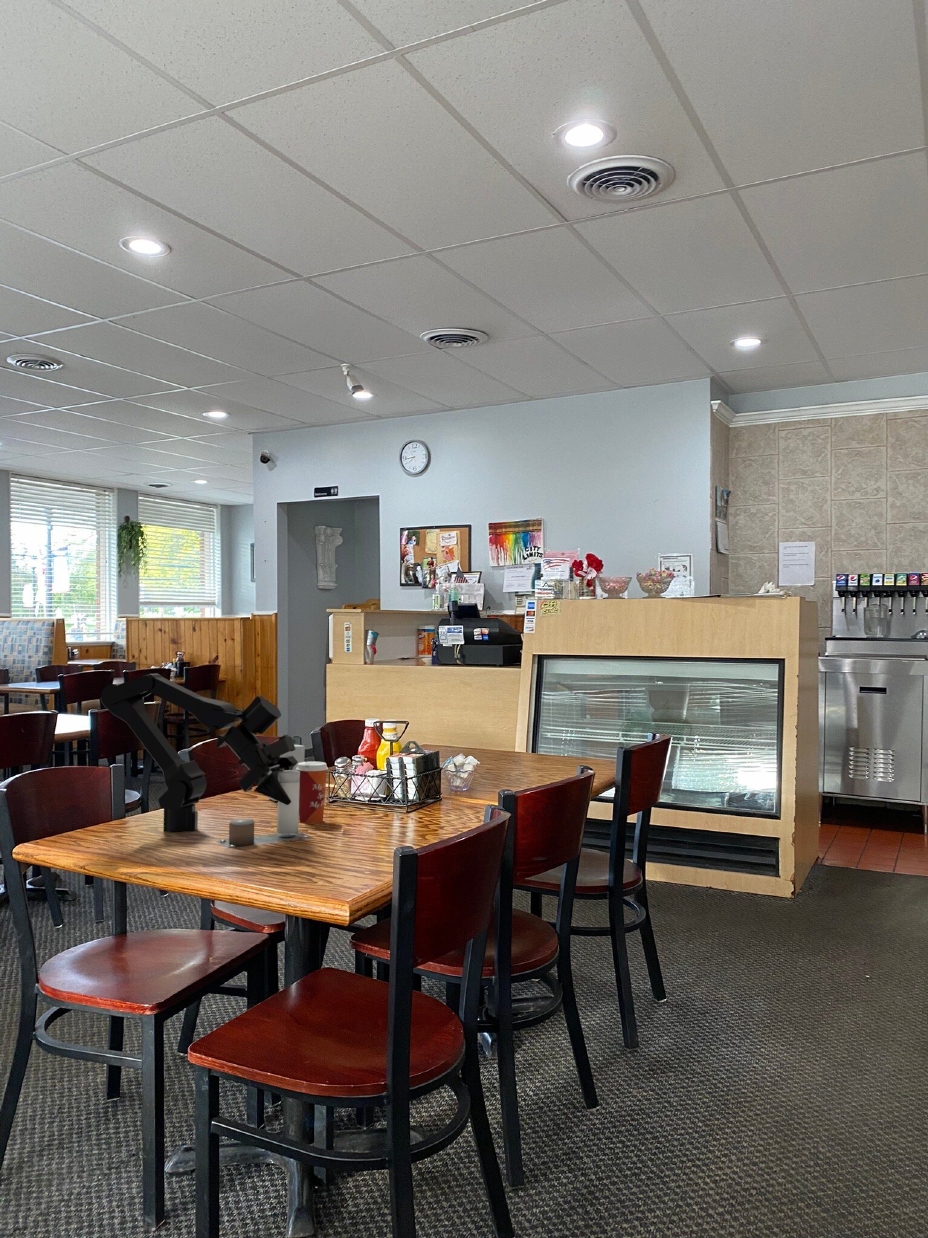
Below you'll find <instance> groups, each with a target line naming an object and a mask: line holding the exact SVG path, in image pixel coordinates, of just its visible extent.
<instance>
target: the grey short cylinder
mask: <svg viewBox="0 0 928 1238" xmlns="http://www.w3.org/2000/svg"><path fill="white" fill-rule="evenodd" d="M254 820H255V819H253V818H245V817H244V818H234V819H231V820H230V821H229V824H228V840H229V844H233V845H246V844H251V843H254V836H255V821H254Z"/></svg>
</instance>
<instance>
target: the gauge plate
mask: <svg viewBox="0 0 928 1238" xmlns="http://www.w3.org/2000/svg"><path fill="white" fill-rule="evenodd" d="M306 839H314V837H313V836H310V835H309V834H306V833H303V832H301V831H300V830H298V832H297V833H292V834H281V833H278V832H277V833H270V834H263V835H254V843H251V844H246V845H233V844H229V839H220V840H215V842H216V843H218V844H220V845H221V846H224V847H226V848H227V849H237V848H243V847H252V846H259V845H267V844H276V843H283V842H291V841H300V840H306Z"/></svg>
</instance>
